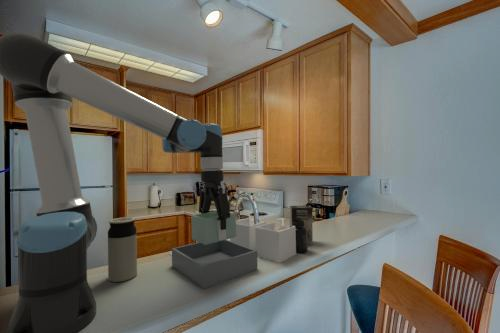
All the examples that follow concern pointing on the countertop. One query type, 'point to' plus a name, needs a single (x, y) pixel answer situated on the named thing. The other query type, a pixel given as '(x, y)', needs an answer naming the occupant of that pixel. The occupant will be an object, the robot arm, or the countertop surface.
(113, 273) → the travel mug
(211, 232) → the box
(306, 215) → the coffee box
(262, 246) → the white cubby shelf
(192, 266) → the big crate
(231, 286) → the countertop surface
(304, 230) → the supplement bottle
